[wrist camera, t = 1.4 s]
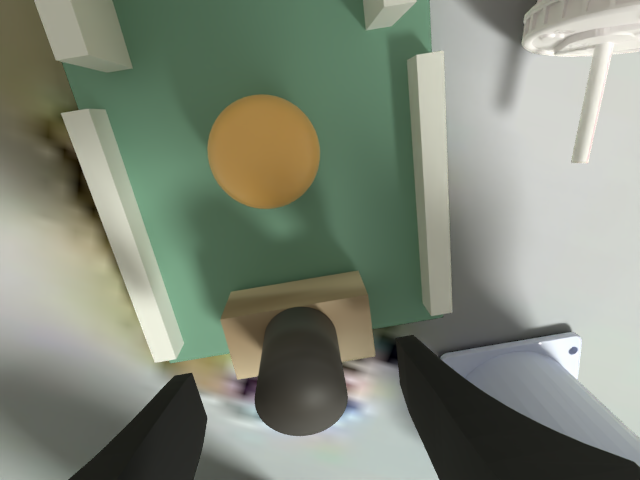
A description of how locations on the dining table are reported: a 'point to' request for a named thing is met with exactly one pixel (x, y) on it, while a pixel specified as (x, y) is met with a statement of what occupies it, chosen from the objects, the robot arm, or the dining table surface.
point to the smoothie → (584, 46)
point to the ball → (263, 151)
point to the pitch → (195, 173)
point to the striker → (299, 347)
